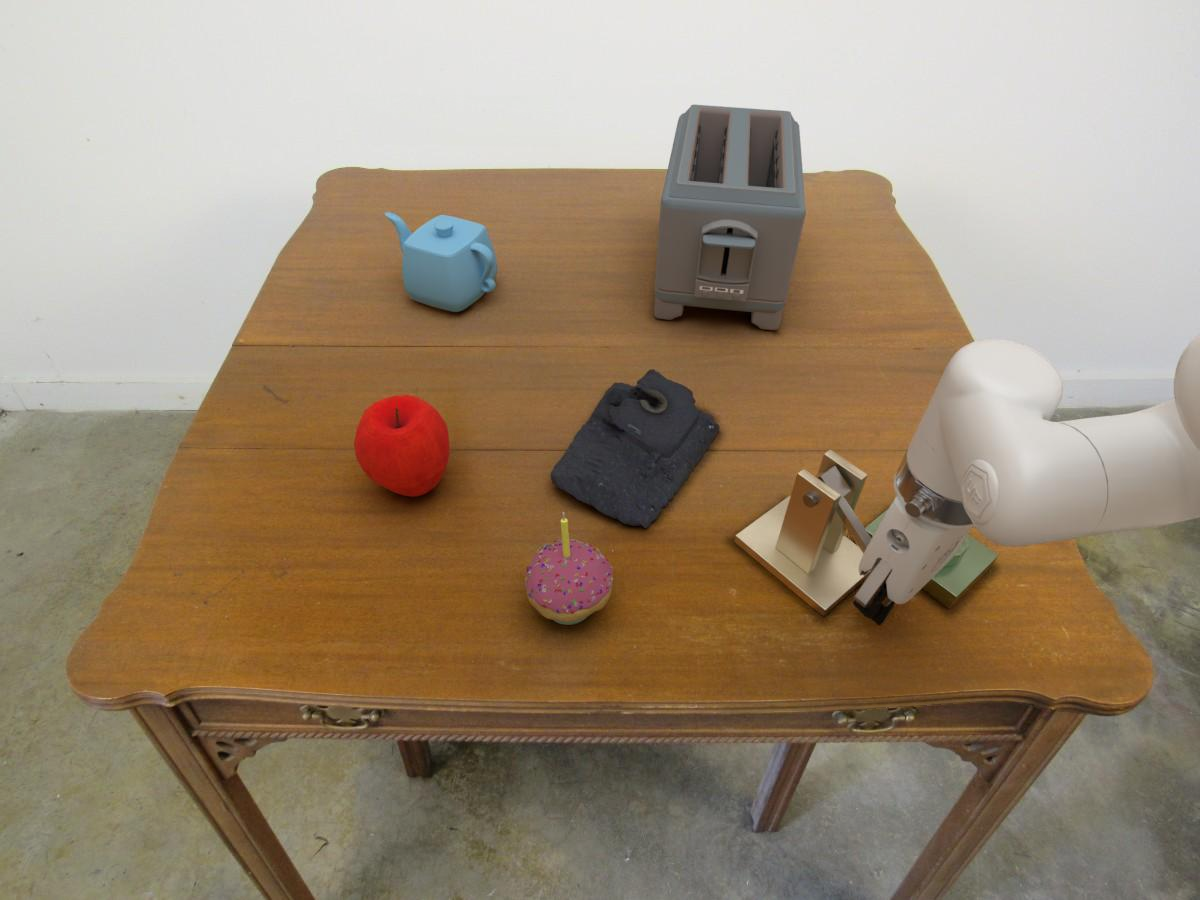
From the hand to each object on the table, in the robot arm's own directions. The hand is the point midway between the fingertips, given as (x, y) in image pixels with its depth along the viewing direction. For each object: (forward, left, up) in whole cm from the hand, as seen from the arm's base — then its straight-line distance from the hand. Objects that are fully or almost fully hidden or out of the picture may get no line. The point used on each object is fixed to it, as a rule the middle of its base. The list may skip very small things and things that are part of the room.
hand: (880, 601), depth 72 cm
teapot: (+76, +3, -2) cm, 76 cm away
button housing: (+1, -10, -2) cm, 10 cm away
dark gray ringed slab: (+32, +4, -2) cm, 32 cm away
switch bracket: (+9, 0, -2) cm, 9 cm away
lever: (+5, 0, +5) cm, 7 cm away
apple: (+44, +27, -2) cm, 52 cm away
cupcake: (+20, +23, -2) cm, 31 cm away
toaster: (+52, -32, -2) cm, 61 cm away
